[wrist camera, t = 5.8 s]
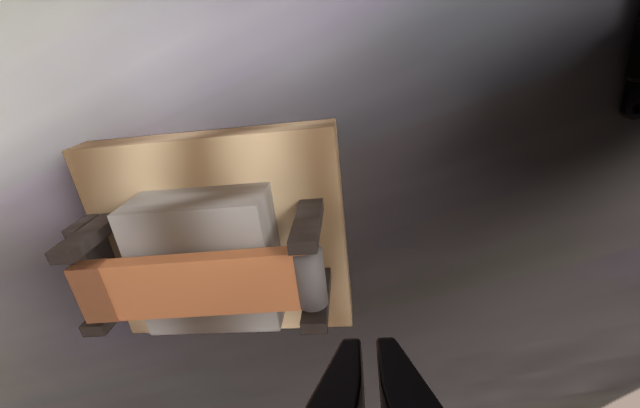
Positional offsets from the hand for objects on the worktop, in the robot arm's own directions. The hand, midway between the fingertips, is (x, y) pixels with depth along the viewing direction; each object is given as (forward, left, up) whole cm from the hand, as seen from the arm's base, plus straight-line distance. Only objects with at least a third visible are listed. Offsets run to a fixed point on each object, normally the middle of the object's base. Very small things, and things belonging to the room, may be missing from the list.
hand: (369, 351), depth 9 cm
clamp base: (+8, +3, -13) cm, 16 cm away
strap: (+8, +3, -8) cm, 11 cm away
